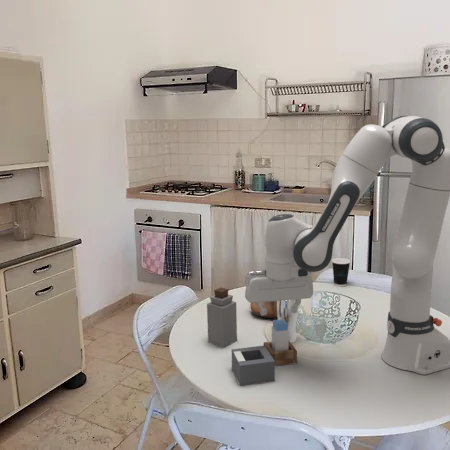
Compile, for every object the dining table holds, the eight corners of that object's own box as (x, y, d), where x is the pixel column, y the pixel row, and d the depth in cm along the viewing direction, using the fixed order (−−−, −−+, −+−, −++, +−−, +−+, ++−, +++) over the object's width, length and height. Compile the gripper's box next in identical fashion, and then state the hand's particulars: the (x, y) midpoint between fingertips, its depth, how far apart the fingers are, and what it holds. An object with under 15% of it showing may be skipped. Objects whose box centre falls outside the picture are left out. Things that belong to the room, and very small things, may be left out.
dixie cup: (340, 280, 220) (341, 257, 217) (353, 285, 213) (354, 261, 210) (327, 284, 216) (327, 259, 214) (339, 289, 209) (340, 264, 207)
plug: (284, 355, 153) (284, 318, 150) (288, 361, 149) (288, 323, 146) (271, 356, 152) (271, 320, 149) (275, 362, 148) (275, 325, 146)
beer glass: (297, 345, 159) (297, 301, 156) (275, 343, 161) (275, 299, 157) (298, 335, 166) (298, 293, 163) (277, 334, 167) (277, 292, 164)
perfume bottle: (236, 340, 163) (236, 289, 159) (223, 348, 158) (222, 294, 154) (221, 335, 167) (220, 284, 164) (208, 342, 162) (206, 290, 158)
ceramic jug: (246, 306, 192) (245, 272, 189) (282, 303, 194) (282, 269, 191) (256, 326, 175) (255, 288, 172) (295, 322, 177) (296, 285, 174)
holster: (288, 351, 155) (288, 339, 154) (297, 363, 147) (297, 350, 147) (263, 354, 153) (263, 342, 153) (271, 366, 146) (271, 354, 145)
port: (264, 364, 147) (264, 344, 146) (274, 380, 138) (274, 360, 137) (231, 368, 145) (231, 348, 144) (240, 385, 136) (239, 365, 134)
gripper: (248, 275, 139) (247, 320, 142) (316, 270, 143) (314, 314, 146) (242, 268, 145) (242, 312, 148) (308, 264, 149) (306, 306, 152)
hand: (278, 313), depth 147 cm, fingers open, 8 cm apart
